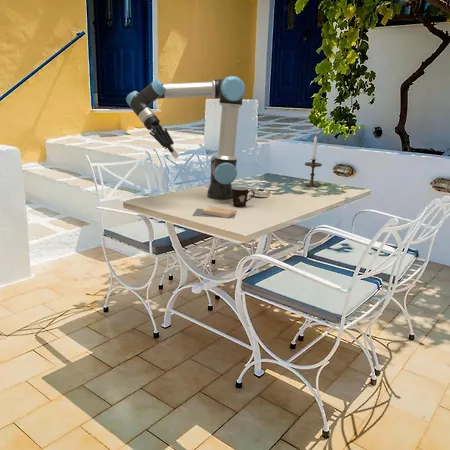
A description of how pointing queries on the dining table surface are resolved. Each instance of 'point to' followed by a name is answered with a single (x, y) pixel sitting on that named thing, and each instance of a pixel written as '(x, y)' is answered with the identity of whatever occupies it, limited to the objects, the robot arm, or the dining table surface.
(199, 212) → the mat
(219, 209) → the tile
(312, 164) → the candlestick
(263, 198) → the dining table surface
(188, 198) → the dining table surface
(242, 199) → the coffee mug
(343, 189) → the dining table surface
